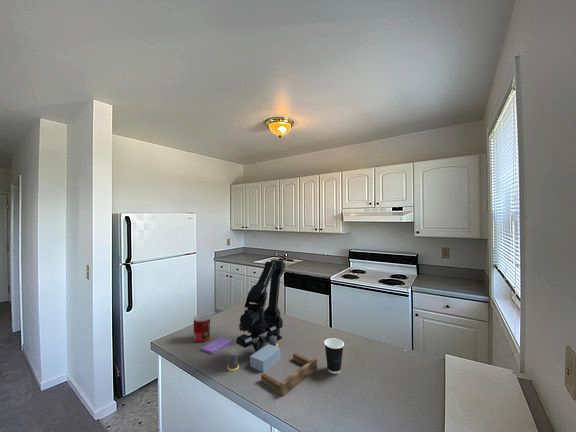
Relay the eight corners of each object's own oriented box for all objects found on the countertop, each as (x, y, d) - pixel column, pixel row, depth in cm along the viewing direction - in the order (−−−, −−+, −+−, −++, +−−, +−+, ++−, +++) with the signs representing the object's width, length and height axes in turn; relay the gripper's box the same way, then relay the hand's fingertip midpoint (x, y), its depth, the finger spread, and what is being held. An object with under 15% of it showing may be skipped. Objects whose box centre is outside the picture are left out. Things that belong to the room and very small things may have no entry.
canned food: (205, 343, 124) (205, 320, 124) (190, 341, 125) (190, 319, 125) (212, 336, 131) (212, 314, 131) (198, 334, 133) (198, 313, 133)
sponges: (201, 351, 117) (201, 347, 117) (221, 339, 128) (221, 336, 128) (212, 355, 114) (212, 351, 114) (231, 343, 125) (231, 339, 125)
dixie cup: (339, 378, 96) (339, 350, 96) (320, 371, 101) (320, 344, 101) (347, 368, 103) (347, 341, 103) (329, 362, 107) (329, 336, 107)
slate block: (268, 353, 115) (268, 343, 115) (280, 358, 111) (280, 348, 111) (250, 367, 105) (250, 356, 105) (263, 372, 101) (263, 361, 101)
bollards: (272, 342, 124) (272, 334, 124) (279, 345, 121) (279, 337, 121) (225, 368, 103) (225, 358, 103) (232, 372, 100) (232, 362, 100)
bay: (295, 358, 110) (295, 349, 110) (317, 369, 102) (317, 359, 102) (261, 381, 95) (261, 370, 95) (283, 395, 87) (283, 384, 87)
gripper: (260, 308, 123) (260, 340, 123) (228, 320, 109) (228, 356, 109) (277, 314, 116) (277, 348, 116) (244, 327, 102) (245, 366, 102)
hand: (257, 354), depth 111 cm, fingers closed
